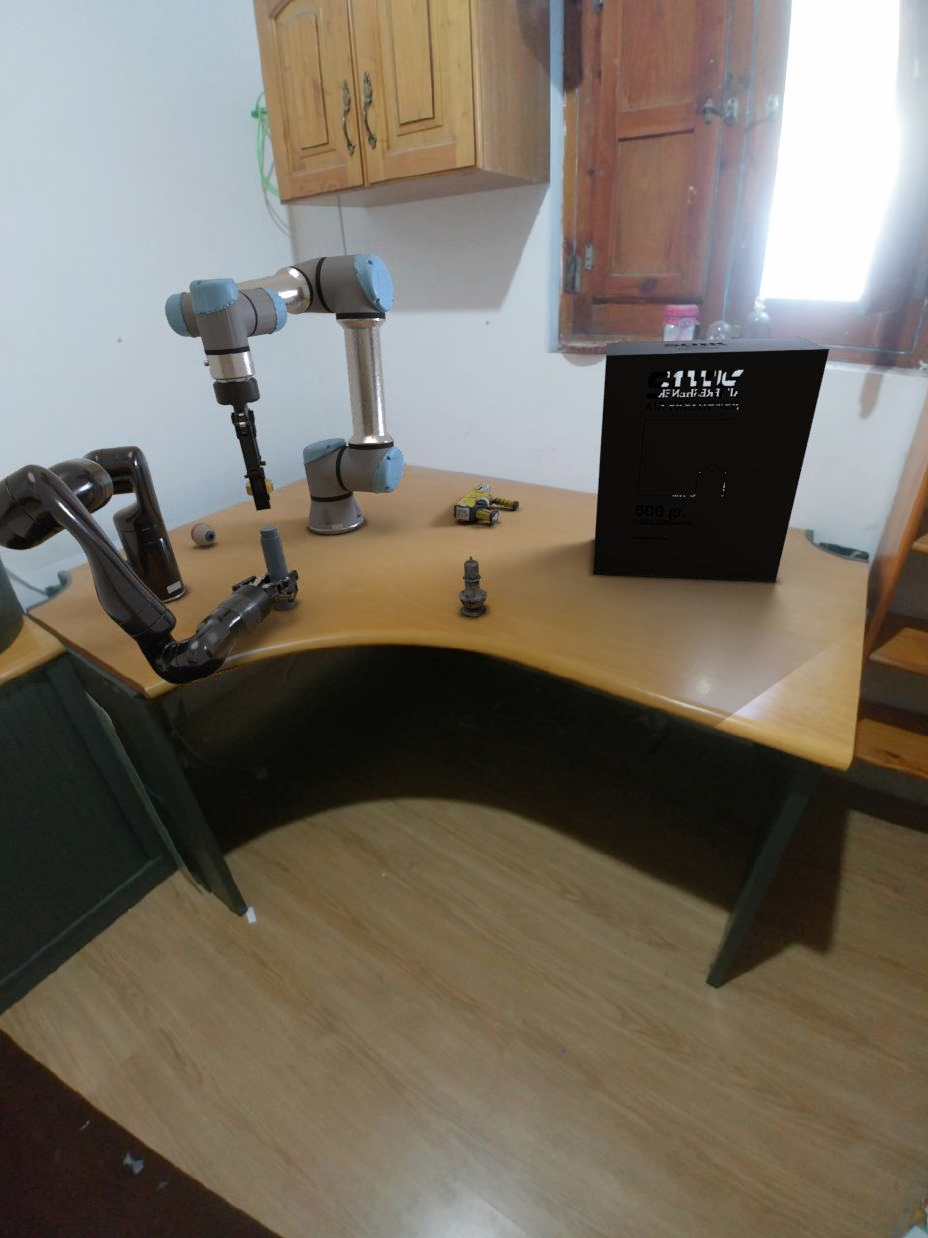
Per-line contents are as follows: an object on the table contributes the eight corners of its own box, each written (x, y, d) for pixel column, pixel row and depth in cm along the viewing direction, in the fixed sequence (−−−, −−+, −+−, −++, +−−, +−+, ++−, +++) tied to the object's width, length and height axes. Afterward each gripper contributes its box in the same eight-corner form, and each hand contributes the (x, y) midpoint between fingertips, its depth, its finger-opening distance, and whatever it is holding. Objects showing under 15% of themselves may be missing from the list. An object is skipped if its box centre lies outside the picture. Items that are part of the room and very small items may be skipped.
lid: (249, 498, 114) (247, 488, 113) (245, 491, 118) (242, 481, 117) (276, 492, 116) (274, 483, 115) (270, 486, 120) (268, 476, 119)
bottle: (286, 599, 132) (269, 523, 123) (298, 603, 130) (282, 526, 121) (271, 606, 129) (253, 529, 120) (284, 611, 127) (266, 533, 118)
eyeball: (204, 551, 157) (198, 529, 154) (189, 547, 160) (183, 525, 157) (223, 542, 162) (217, 521, 159) (208, 539, 165) (202, 518, 162)
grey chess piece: (485, 617, 120) (483, 562, 114) (456, 616, 121) (452, 561, 115) (490, 603, 125) (488, 550, 119) (462, 602, 126) (459, 549, 120)
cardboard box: (755, 543, 144) (798, 336, 121) (775, 581, 127) (829, 348, 104) (594, 538, 151) (606, 342, 129) (592, 573, 134) (606, 355, 112)
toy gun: (527, 488, 179) (479, 481, 183) (505, 513, 159) (452, 504, 162) (525, 503, 181) (478, 496, 185) (503, 529, 161) (451, 520, 165)
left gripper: (271, 597, 111) (313, 558, 125) (204, 592, 114) (252, 555, 128) (280, 632, 114) (319, 590, 129) (214, 626, 118) (260, 586, 132)
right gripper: (214, 373, 113) (244, 493, 125) (208, 388, 98) (242, 523, 110) (255, 369, 115) (281, 488, 127) (255, 383, 100) (284, 516, 112)
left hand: (285, 573), depth 128 cm, fingers closed on bottle, 4 cm apart
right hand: (263, 504), depth 118 cm, fingers closed on lid, 5 cm apart
